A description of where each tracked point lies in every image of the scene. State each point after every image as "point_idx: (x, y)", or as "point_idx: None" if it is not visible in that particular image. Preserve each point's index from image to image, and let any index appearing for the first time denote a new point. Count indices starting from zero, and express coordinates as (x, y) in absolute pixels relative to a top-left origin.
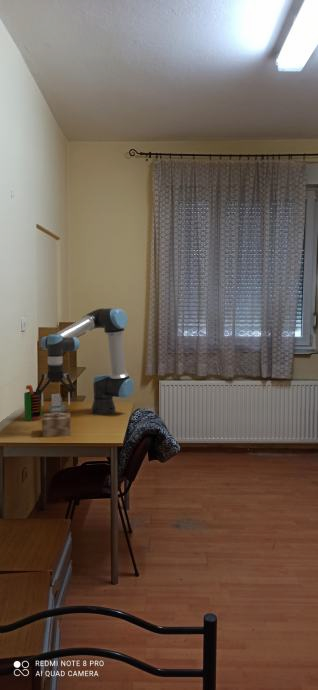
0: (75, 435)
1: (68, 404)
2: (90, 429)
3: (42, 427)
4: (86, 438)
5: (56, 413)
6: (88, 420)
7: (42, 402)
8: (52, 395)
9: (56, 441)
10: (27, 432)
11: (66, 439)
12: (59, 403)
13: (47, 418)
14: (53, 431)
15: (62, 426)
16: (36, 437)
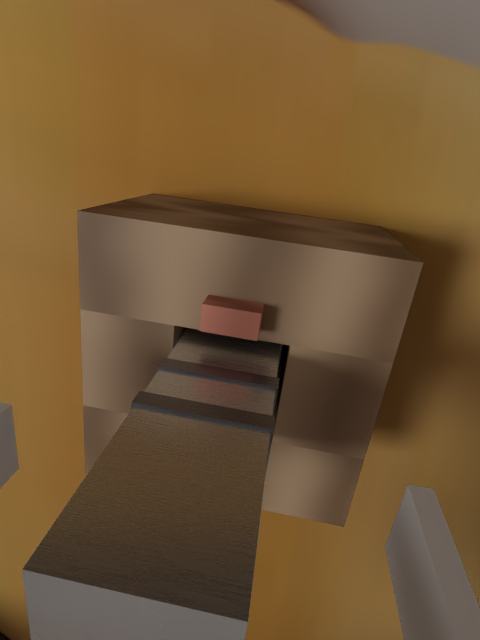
0: (111, 193)
1: (5, 409)
2: (9, 334)
3: (395, 242)
4: (21, 54)
5: (219, 361)
6: (35, 540)
7: (435, 537)
8: (219, 616)
9: (283, 18)
10: (463, 411)
11: (188, 72)
12: (130, 434)
13: (341, 302)
14: (284, 218)
15: (191, 212)
16: (431, 233)
